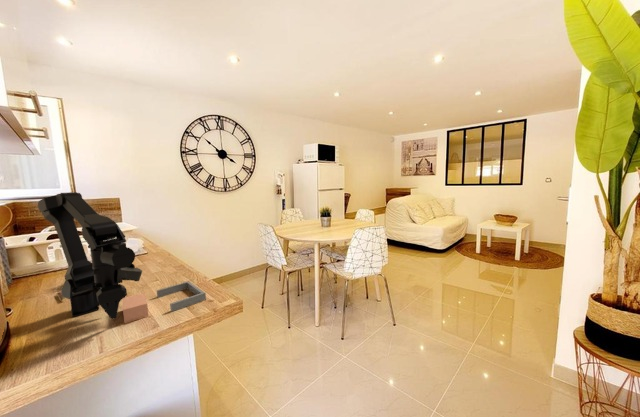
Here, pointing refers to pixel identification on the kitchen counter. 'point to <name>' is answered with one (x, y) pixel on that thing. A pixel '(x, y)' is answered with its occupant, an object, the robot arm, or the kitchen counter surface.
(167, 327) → the kitchen counter surface
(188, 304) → the grey u-shaped bracket
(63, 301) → the shard
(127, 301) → the salmon pink block
